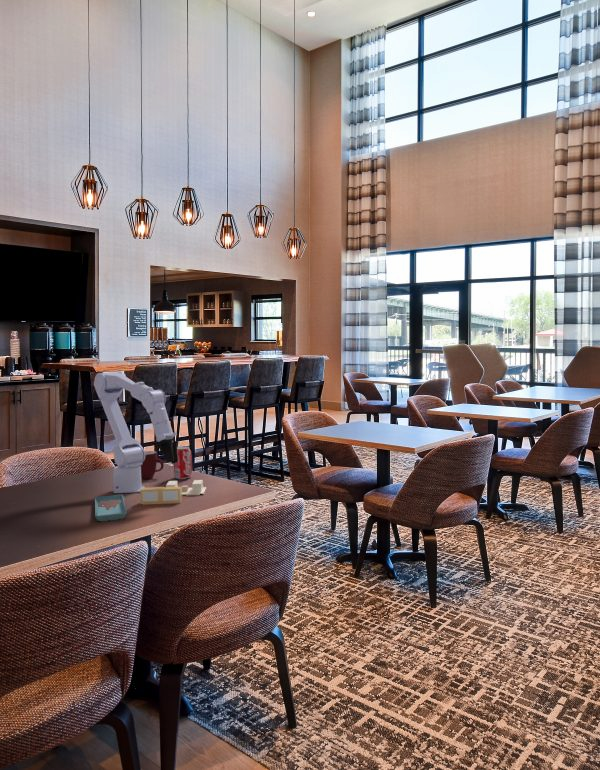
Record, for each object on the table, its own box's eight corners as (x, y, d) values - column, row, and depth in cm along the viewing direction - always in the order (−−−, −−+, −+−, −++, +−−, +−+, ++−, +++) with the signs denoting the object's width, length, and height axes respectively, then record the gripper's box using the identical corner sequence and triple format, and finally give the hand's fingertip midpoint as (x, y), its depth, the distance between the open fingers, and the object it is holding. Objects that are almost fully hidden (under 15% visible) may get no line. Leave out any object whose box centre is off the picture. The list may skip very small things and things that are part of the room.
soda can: (194, 475, 247) (193, 445, 247) (189, 479, 240) (188, 448, 240) (177, 475, 248) (175, 445, 247) (171, 480, 241) (170, 449, 240)
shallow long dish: (94, 503, 211) (94, 495, 211) (123, 500, 214) (122, 493, 213) (95, 524, 186) (94, 516, 186) (127, 520, 189) (126, 512, 189)
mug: (165, 475, 250) (164, 450, 249) (162, 479, 242) (161, 454, 241) (138, 476, 249) (137, 451, 249) (135, 480, 241) (134, 455, 241)
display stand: (162, 496, 216) (162, 486, 215) (167, 490, 225) (166, 480, 224) (203, 494, 216) (203, 484, 216) (206, 488, 225) (206, 478, 225)
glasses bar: (140, 505, 206) (139, 490, 205) (142, 502, 209) (141, 488, 208) (180, 503, 206) (179, 488, 206) (181, 501, 209) (181, 486, 209)
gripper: (168, 417, 206) (180, 456, 203) (176, 422, 220) (187, 459, 218) (147, 424, 205) (159, 463, 203) (157, 429, 219) (168, 466, 217)
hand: (172, 462), depth 210 cm, fingers open, 7 cm apart
